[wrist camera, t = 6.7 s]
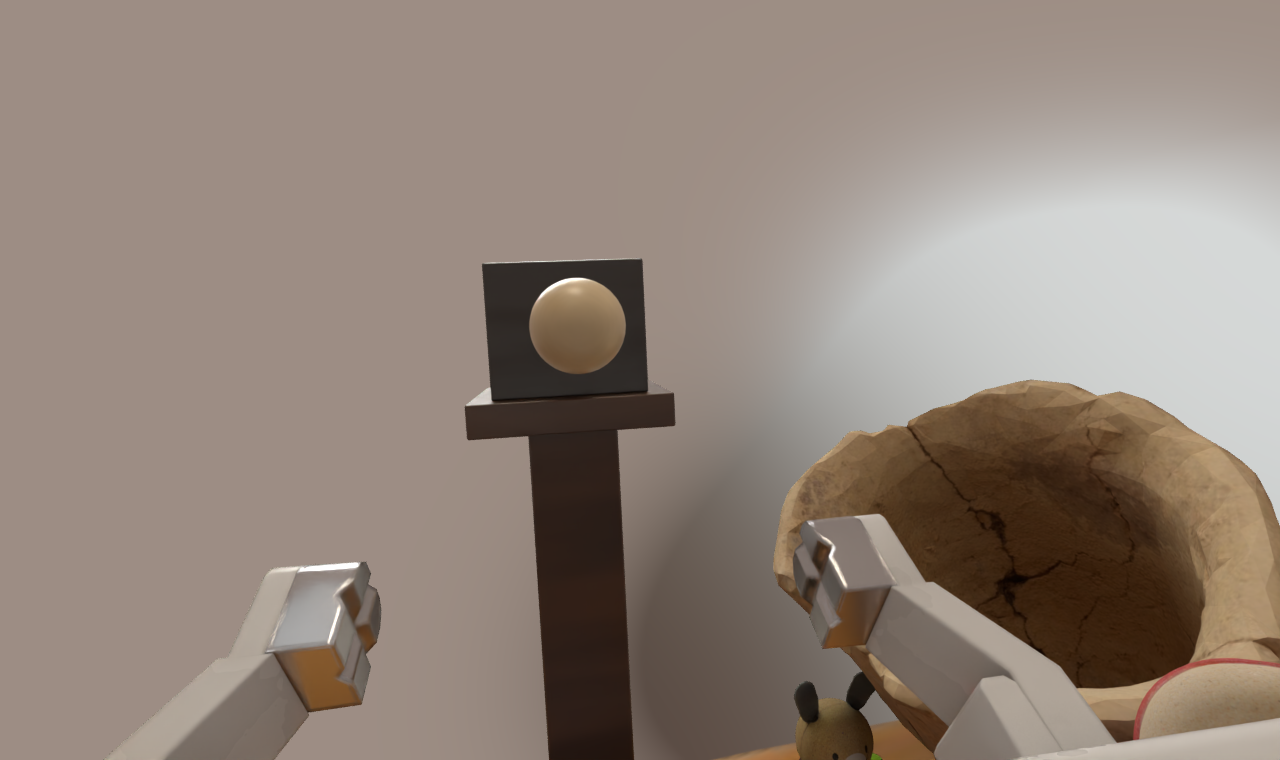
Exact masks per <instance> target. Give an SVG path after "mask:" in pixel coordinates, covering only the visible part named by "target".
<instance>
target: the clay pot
mask: <svg viewBox="0 0 1280 760" xmlns="http://www.w3.org/2000/svg"><path fill="white" fill-rule="evenodd" d="M872 514H880V515H882V516H883V517H884V518H885V519H886V521H887V522H888V524H889V525H890V527H891V528H892V530H893V532H894V533H895V535H896V536H897V538H898V539H899V541H900V543H901V544H902V546H903V547H904V549H905V550H906V552H907V554H908V555H909V557H910V558H911V560H912V561H913V563H914V564H915V566H916V568H917V569H918V571H919V572H920V574H921V575H922V577H923V579H924V580H925V582H934V583H936V584H937V585H939V586H940V587H942V588H943V589H945V590H946V591H948V592H949V593H951V594H952V595H954V596H955V597H957V598H958V599H960V600H961V601H963V602H964V603H966V604H967V605H969V606H970V607H972V608H973V609H975V610H976V611H978V612H979V613H981V614H982V615H984V616H985V617H987V618H988V619H990V620H991V621H993V622H994V623H996V624H997V625H999V626H1000V627H1002V628H1003V629H1005V630H1006V631H1008V632H1009V633H1011V634H1012V635H1014V636H1015V637H1017V638H1018V639H1020V640H1021V641H1023V642H1024V643H1026V644H1027V645H1029V646H1030V647H1032V648H1033V649H1035V650H1036V651H1038V652H1039V653H1041V654H1042V655H1044V656H1045V657H1047V658H1048V659H1050V660H1051V661H1053V662H1054V663H1056V664H1057V665H1059V666H1060V667H1061V668H1062V670H1063V671H1064V672H1065V674H1066V675H1067V676H1068V678H1069V679H1070V680H1071V682H1072V683H1073V684H1074V686H1075V687H1076V689H1077V690H1078V691H1079V693H1080V694H1081V695H1082V697H1083V698H1084V699H1085V701H1086V702H1087V703H1088V705H1089V706H1090V707H1091V709H1092V710H1093V711H1094V713H1095V714H1096V715H1097V717H1098V718H1099V719H1100V721H1101V722H1102V724H1103V725H1104V726H1105V728H1106V729H1107V730H1108V732H1109V733H1110V734H1111V736H1112V737H1113V738H1114V740H1115V741H1116V742H1117V743H1119V742H1126V741H1133V733H1134V724H1135V718H1136V715H1137V711H1138V709H1139V706H1140V704H1141V702H1142V700H1143V698H1144V697H1145V695H1146V693H1147V692H1148V691H1149V690H1150V689H1151V687H1152V686H1153V685H1154V684H1155V683H1156V682H1157V681H1158V680H1160V679H1161V678H1162V677H1163V676H1165V675H1166V674H1168V673H1169V672H1171V671H1173V670H1175V669H1177V668H1180V667H1182V666H1184V665H1186V664H1189V663H1193V662H1197V661H1201V660H1206V659H1214V658H1239V659H1249V660H1258V661H1265V662H1272V663H1279V664H1280V525H1279V523H1278V520H1277V518H1276V515H1275V512H1274V509H1273V506H1272V503H1271V501H1270V499H1269V497H1268V495H1267V493H1266V491H1265V489H1264V488H1263V485H1262V483H1261V481H1260V480H1259V478H1258V477H1257V475H1256V473H1254V472H1253V471H1252V470H1251V469H1250V468H1249V467H1248V466H1247V465H1245V464H1244V463H1243V462H1242V461H1241V460H1240V459H1238V458H1237V457H1235V456H1234V455H1233V454H1231V453H1230V452H1228V451H1227V450H1225V449H1224V448H1222V447H1220V446H1218V445H1217V444H1215V443H1213V442H1211V441H1210V440H1208V439H1206V438H1205V437H1203V436H1201V435H1199V434H1197V433H1196V432H1194V431H1193V430H1191V429H1189V428H1188V427H1187V426H1185V425H1184V424H1183V423H1182V422H1180V421H1179V420H1178V419H1177V418H1175V417H1174V416H1172V415H1171V414H1169V413H1168V412H1166V411H1164V410H1163V409H1161V408H1159V407H1157V406H1156V405H1154V404H1152V403H1151V402H1149V401H1147V400H1145V399H1142V398H1139V397H1136V396H1133V395H1129V394H1126V393H1123V392H1115V393H1110V394H1105V395H1099V396H1096V395H1094V394H1092V393H1090V392H1088V391H1086V390H1084V389H1082V388H1079V387H1077V386H1075V385H1072V384H1069V383H1059V382H1058V383H1057V382H1048V381H1038V380H1026V381H1020V382H1015V383H1011V384H1007V385H1003V386H999V387H996V388H991V389H985V390H983V391H981V392H978V393H976V394H974V395H972V396H970V397H968V398H967V399H965V400H963V401H960V402H957V403H954V404H950V405H946V406H942V407H938V408H935V409H933V410H930V411H928V412H926V413H924V414H922V415H920V416H918V417H916V418H914V419H912V420H910V421H909V422H908V425H907V427H903V426H893V425H888V426H887V427H886V429H885V430H883V431H881V432H875V433H867V432H864V431H853V432H849V433H848V434H847V435H846V436H845V437H844V438H843V439H842V440H841V441H840V442H839V443H838V444H837V445H836V446H835V447H834V448H833V449H832V450H831V451H829V452H828V453H827V454H826V455H824V456H823V457H822V458H821V459H820V460H819V461H817V462H816V463H815V464H814V465H813V466H812V467H811V468H810V469H808V470H807V471H806V472H805V473H804V474H803V476H802V477H801V478H800V479H799V480H798V481H797V483H795V485H794V486H793V487H792V488H791V489H790V491H789V492H788V495H787V497H786V500H785V502H784V505H783V508H782V510H781V516H780V522H779V529H778V535H777V542H776V548H775V554H774V573H775V576H776V579H777V582H778V585H779V586H780V587H781V588H782V589H783V590H784V591H785V592H786V593H788V595H790V596H791V597H792V598H793V599H794V600H795V601H796V602H797V603H798V604H799V605H800V606H801V607H802V608H803V609H804V610H805V611H806V612H808V614H809V615H810V613H811V610H812V607H813V606H812V605H811V604H809V603H808V602H807V601H806V600H804V599H803V598H802V597H801V596H800V593H799V591H798V588H797V586H796V583H795V579H794V575H793V556H794V552H795V548H797V547H798V546H799V545H800V544H801V543H802V542H803V541H802V539H801V536H800V534H799V533H800V529H801V526H802V524H803V523H804V522H805V521H807V520H817V519H826V518H836V517H845V516H853V517H854V516H861V515H872ZM865 646H866V645H860V646H849V647H840V648H841V649H842V650H843V651H844V652H845V653H847V654H848V655H849V656H850V657H851V658H852V659H853V660H854V662H855V663H856V664H857V665H858V666H859V668H860V669H861V670H862V671H863V673H864V674H865V675H866V677H867V678H868V680H869V681H870V682H871V683H872V685H873V686H874V688H875V690H876V691H877V693H878V694H879V696H880V697H881V698H882V700H883V701H884V702H885V703H886V704H887V705H888V707H889V708H890V709H891V710H892V712H893V713H894V714H895V715H896V717H897V718H898V719H899V721H900V722H901V723H902V725H903V726H904V727H905V728H906V729H908V730H909V731H910V732H911V733H912V734H913V735H914V736H915V737H916V738H917V739H918V740H919V741H920V742H921V743H923V744H924V745H925V746H926V747H927V748H928V749H929V750H930V751H931V752H932V753H933V754H934V751H935V749H936V746H937V744H938V743H939V742H940V740H941V739H942V737H943V736H944V734H945V733H946V731H947V730H948V728H949V726H948V725H946V724H945V723H944V722H943V721H942V720H941V719H940V718H939V717H938V716H937V715H936V714H935V713H934V712H933V711H932V710H931V709H930V708H929V707H927V706H926V705H925V704H924V703H923V702H922V701H921V700H920V699H919V698H918V697H917V696H916V695H915V694H914V693H913V692H912V691H911V690H909V689H908V688H907V687H906V686H905V685H904V684H903V683H902V682H901V681H900V680H899V679H898V678H897V677H896V676H895V675H894V674H893V673H892V672H890V671H889V670H888V669H887V668H886V667H885V666H884V665H883V664H882V663H881V662H880V661H879V660H878V659H877V658H876V657H875V656H874V655H873V654H871V653H870V652H869V651H868V650H867V649H866V648H865Z"/></svg>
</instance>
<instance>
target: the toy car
mask: <svg viewBox="0 0 1280 760" xmlns="http://www.w3.org/2000/svg"><path fill="white" fill-rule="evenodd" d="M874 691H875V688H874V686H873V685H872V683H871V682H870V681H869V680H868V678H867V677H866V675H865V674H864V673H863V672H859V673H858V674H856V675H855V676H854V678H853V681H852V682H851V684H850V686H849V689H848V691H847V697H846V702H845V701H842V700H840V699H835V698H824V699H819V700H818V697H817V694H816V690H815V687H814V685H813V684H812V683H811V682H808V681H805V682H802V683H801V684H800V685H799V686H798V687H797V689H796V691H795V694H794V699H795V702H796V706H797V708H798V710H799V713H800V717H799V719H798V722H797V726H796V746H797V750H798V753H799V755H800V759H799V760H882V758H881V757H880V756H878V755H877V754H874V753H873V735H872V731H871V728H870V726H869V724H868V722H867V720H866V719H865V717H864V716H863V715H862V713H861V712H860V711H859V709H861V708H862V707H863V706H864V705H865V703H866V702H867V700H868V699H869V697H870V695H872V693H873V692H874Z"/></svg>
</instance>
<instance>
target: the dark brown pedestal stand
mask: <svg viewBox="0 0 1280 760" xmlns="http://www.w3.org/2000/svg"><path fill="white" fill-rule="evenodd" d="M465 417H466V431H467V439H468V440H479V439H492V438H493V439H494V438H508V437H523V436H528V437H529V453H530V469H531V484H532V500H533V514H534V515H533V516H534V531H535V547H536V563H537V578H538V594H539V609H540V624H541V625H540V626H541V641H542V656H543V673H544V688H545V704H546V719H547V735H548V751H549V760H634V750H633V730H632V711H631V692H630V691H631V690H630V670H629V653H628V652H629V650H628V631H627V610H626V591H625V571H624V552H623V532H622V511H621V491H620V472H619V451H618V431H617V430H622V429H637V428H652V427H667V426H675V404H674V393H673V392H671V391H669V390H667V389H665V388H663V387H661V386H659V385H657V384H656V383H654V382H652V381H650V380H648V391H647V392H632V393H616V394H599V395H583V396H567V397H550V398H534V399H518V400H501V401H492V400H491V388H487V389H486V390H484V391H483V392H482V393H481V394H479V395H478V396H477V397H476V398H474V399H473V400H472V401H471V402H470V403H468V404H467V405H466V406H465Z"/></svg>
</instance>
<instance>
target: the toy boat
mask: <svg viewBox="0 0 1280 760" xmlns="http://www.w3.org/2000/svg"><path fill="white" fill-rule="evenodd" d="M1276 718H1280V664H1279V663H1272V662H1265V661H1258V660H1249V659H1239V658H1214V659H1206V660H1201V661H1197V662H1193V663H1189V664H1186V665H1184V666H1182V667H1180V668H1177V669H1175V670H1173V671H1171V672H1169V673H1168V674H1166V675H1165V676H1163V677H1162V678H1161V679H1160V680H1158V681H1157V682H1156V683H1155V684H1154V685H1153V686H1152V687H1151V689H1150V690H1149V691H1148V692H1147V693H1146V695H1145V697H1144V698H1143V700H1142V702H1141V704H1140V706H1139V709H1138V711H1137V715H1136V718H1135V724H1134V733H1133V740H1139V739H1146V738H1152V737H1159V736H1165V735H1172V734H1178V733H1185V732H1191V731H1198V730H1205V729H1211V728H1218V727H1224V726H1231V725H1237V724H1244V723H1250V722H1257V721H1263V720H1270V719H1276Z"/></svg>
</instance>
